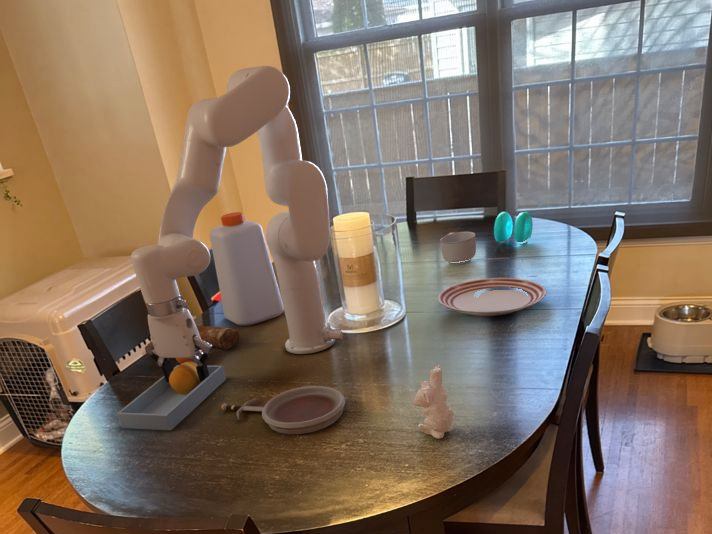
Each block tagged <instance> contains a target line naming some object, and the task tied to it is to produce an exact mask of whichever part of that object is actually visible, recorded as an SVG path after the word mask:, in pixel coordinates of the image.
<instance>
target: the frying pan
mask: <svg viewBox="0 0 712 534" xmlns="http://www.w3.org/2000/svg"><path fill="white" fill-rule="evenodd" d="M258 402H259V400H258V397H254V398H251V399H250V400H247V401H245V402H244V404H243V405H229V404H227V403H225V402H224V403H222V404H221V406H220V409H221V410H222V411H223V412H227V411H228V410H230V411H231V410H232V411H236V417H237V420H238V421H240V414H242V412H243V411H247V412H248V411H249V412H261V418H262V419H263V420H264V422H265V423H266V424H267V425H268V426H269V428H270V429H271V430H273V431H275V432H276V433H279V434H284V435H302V434H309V433H314V432H317V431H320V430H323V429H325V428H327V427H329V426H331V425H333V424H334V423H335V422H336V421H338V420H339V419H340V418H341V417H342V414H343V412H344V407H345V404H346V400H345V396H344V395H343V394H342V393H341V392H340V391H339V390H338V389H336V388H333V387H330V386H324V385H306V386H301V387H296V388H292V389H289V390H286V391H283V392H281V393H279V394H277V395H275V396H273V397H272V398H270V399H269V400H268V401H266V403H265V404H264V406H251V405H252V404H255V403H258Z"/></svg>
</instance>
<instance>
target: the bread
mask: <svg viewBox="0 0 712 534" xmlns="http://www.w3.org/2000/svg"><path fill="white" fill-rule="evenodd" d="M196 327H197V329H198V332H199V335H200V337H201V339H202V340H204V341H206V342H207V343H209V344H211V345H212V347H215V348H217V349H222V350H229V349H230V348H232V347H234V346H236V345H237V343H238V342H239V341H240V336H241V335H240V331H238V330H237V329H235V328H230V327H223V326H213V325H212V326H211V325H210V326H209V325H196Z"/></svg>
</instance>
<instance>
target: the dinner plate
mask: <svg viewBox="0 0 712 534" xmlns="http://www.w3.org/2000/svg"><path fill="white" fill-rule="evenodd" d="M496 287H511V288H518V289H522V290H523V291H525V292H527V294H528V296H527V295H526V294H525V293H523V292H520V291H515V290H493V291H487V292H484V293H482V294H481V295H480V296H479V297H478V298H476V296H475V297H474V294H475V292H477V291H480V290H483V289H490V288H496ZM546 295H547V288H545V287H544V285H542V284H540V283H538V282H535V281H532V280H528V279H524V278H517V277H488V278H479V279H472V280H468V281H463V282H460V283H456V284H454V285H453V284H452V285H451V286H449V287H446V288H445V289H443V290H442V291H441V292H440V293H439V294H438V296H437V301H438V303H439V304H440V305H441V306H442V307H444V308H446V309H448V310H449V311H453V312H456V313H458V314H459V313H460V314H465V315H468V316H473V317H497V316H504V315H505V316H506V315H509V314H513V313H515V312H519V311H521V310H524V309H526V308H529V307H531V306H533V305H535V304H537V303H540V301H542V300H544V298H545V297H546Z"/></svg>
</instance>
